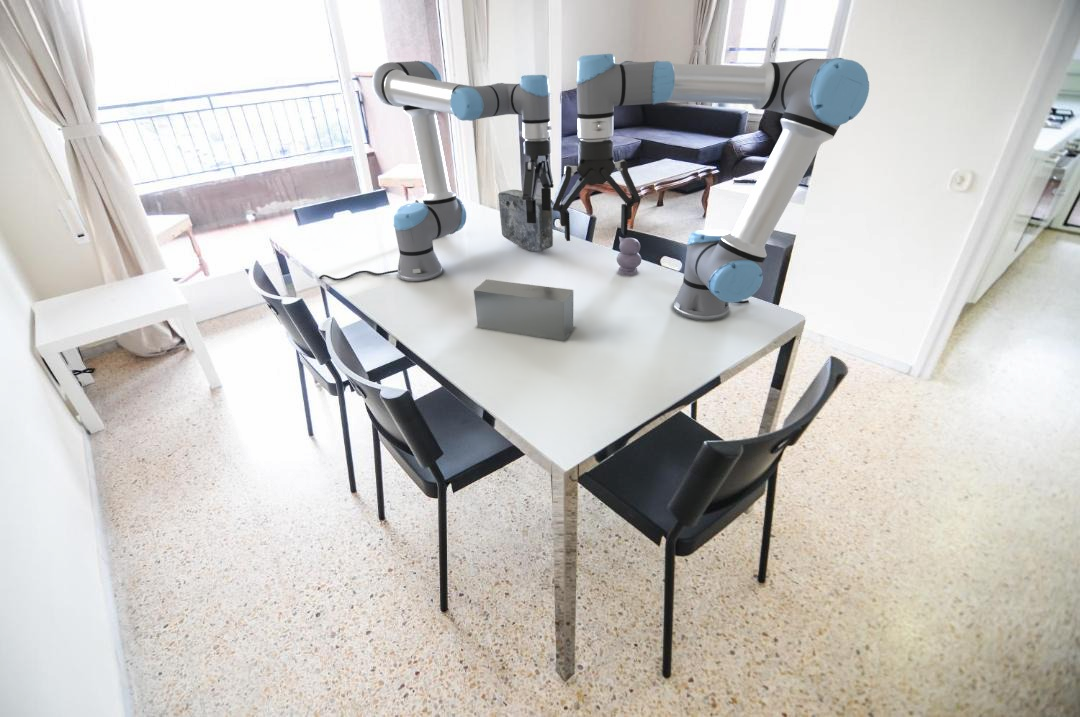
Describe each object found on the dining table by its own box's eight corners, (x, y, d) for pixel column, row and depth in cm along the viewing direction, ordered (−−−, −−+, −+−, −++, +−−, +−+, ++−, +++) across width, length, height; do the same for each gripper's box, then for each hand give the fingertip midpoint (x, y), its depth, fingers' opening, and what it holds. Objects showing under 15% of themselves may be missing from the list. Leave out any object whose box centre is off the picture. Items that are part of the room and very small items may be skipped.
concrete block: (558, 253, 189) (557, 199, 178) (539, 258, 184) (537, 204, 174) (519, 237, 207) (516, 187, 197) (501, 241, 203) (497, 191, 193)
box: (477, 327, 140) (473, 290, 134) (489, 315, 146) (486, 279, 140) (564, 341, 132) (564, 301, 126) (573, 327, 138) (573, 289, 132)
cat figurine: (645, 271, 170) (647, 237, 164) (632, 278, 165) (634, 243, 159) (624, 266, 175) (626, 232, 169) (611, 272, 170) (612, 238, 164)
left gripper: (534, 146, 126) (537, 229, 137) (562, 132, 146) (563, 206, 157) (507, 146, 128) (512, 227, 139) (538, 132, 148) (540, 204, 159)
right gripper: (540, 146, 102) (546, 246, 113) (658, 136, 104) (652, 235, 115) (535, 141, 108) (541, 236, 119) (646, 131, 110) (642, 226, 121)
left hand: (539, 216), depth 148 cm, fingers open, 13 cm apart
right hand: (595, 236), depth 117 cm, fingers open, 13 cm apart
